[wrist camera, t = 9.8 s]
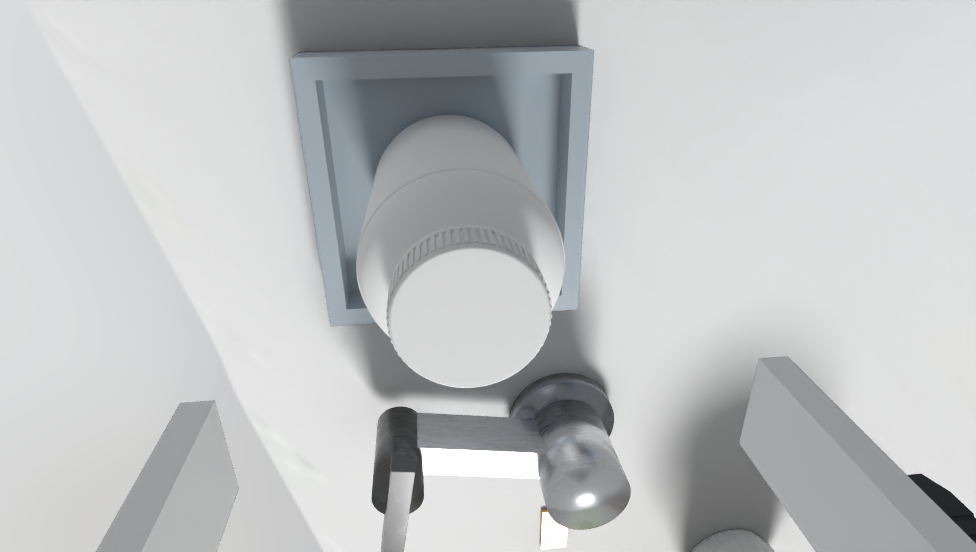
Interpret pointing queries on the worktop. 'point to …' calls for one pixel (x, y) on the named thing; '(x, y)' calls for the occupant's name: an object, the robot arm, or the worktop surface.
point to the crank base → (547, 394)
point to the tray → (425, 93)
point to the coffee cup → (733, 542)
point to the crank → (499, 462)
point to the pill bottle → (459, 253)
